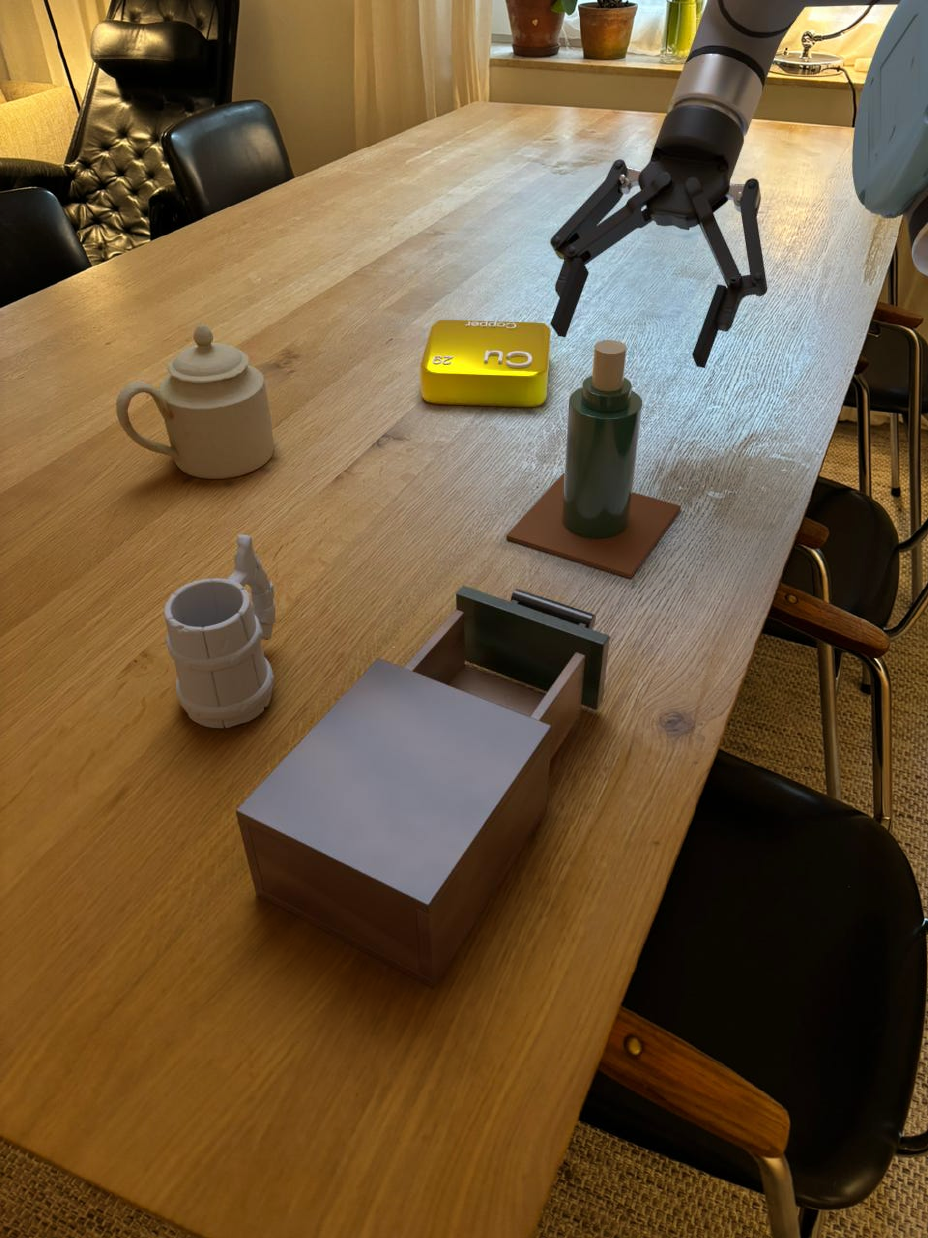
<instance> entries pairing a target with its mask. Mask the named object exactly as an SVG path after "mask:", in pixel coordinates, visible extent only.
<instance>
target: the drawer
mask: <svg viewBox="0 0 928 1238" xmlns="http://www.w3.org/2000/svg"><path fill="white" fill-rule="evenodd" d="M596 619H597V616H596V615H595V614H594V613H591V612H588V611H585V610H582V609H579V608H576V607H573V606H570V605H567V604H564V603H561V602H559V601H555V600H553V599H549V598H546V597H544V596H540V595H537V594H534V593H532V592H528V591H526V590H522V589H520V588H515V589H514V590H513V592H512V593H511V597H510V600H506V599H504V598H501V597H498V596H495V595H492V594H489V593H488V592H487V593H486V592H484V591H481V590H477V589H475V588H472V587H469V586H466V585H462V586H461V587H460V588H459V589H458V590H457V592H456V593H455V609H454V610H453V612H452V613H451V614H450V615H449V616H448V617H447V618H446V619H445V620H444V621H443V622H442V624H441V625H440V626H439V627H438V628H437V629H436V630H435V632H434V633H433V634H431V636H430V637H429V638H428V639H427V641H426V642H425V643H424V644H423V645H422V646H421V647H420V648H419V649H418V650H417V652H416V653H415V654H414V655H413V656H412V657H411V658H410V659H409V660H408V662H407V663H406V664H405V665H404V666H402V667H403V668H406V669H408V670H411V671H413V672H416V673H419V674H421V675H424V676H426V677H429V678H431V679H434V680H436V681H439V682H442V683H444V684H447V685H449V686H452V687H454V688H457V689H459V690H462V691H465V692H467V693H470V694H472V695H475V696H477V697H480V698H482V699H485V700H488V701H490V702H493V703H495V704H498V705H500V706H503V707H506V708H508V709H511V710H513V711H516V712H518V713H521V714H523V715H526V716H529V717H531V718H534V719H536V720H539V721H541V722H544V723H546V724H549V725H551V726H552V737H551V752H550V761H551V760H552V758H553V757H554V756H555V754H556V752H557V751H558V749H560V746H561V745H562V744H563V742H564V740H565V739H566V738H567V736H568V735H569V733H570V731H571V730H572V728H573V727H574V725H575V724H576V722H577V721H578V719H579V718H580V717H581V711H582V710H581V709H582V708H581V707H582V706H584V707H586V708H589V709H592V710H595V711H598V710H599V708H600V706H601V705H602V704H603V701H604V694H605V693H604V692H605V683H606V676H607V675H606V674H607V668H608V667H607V665H608V658H609V648H610V641H611V639H610V638H611V636H610V635H609V634H605V633H603V632H601V631H600V632H599V631H597V630H594V629H593V628H594V627H595V623H596ZM466 662H467V663H470V664H472V665H474V666H477V667H481V668H483V669H485V670H488V671H491V672H494V673H496V674H499V675H502V676H505V677H507V678H509V679H512V680H515V681H518V682H520V683H523V684H526V685H528V686H530V687H533V688H536V689H539V690H541V691H544V692H546V694H544V693H541V692H538V691H536V690H533V689H530V688H527V687H526V686H522V685H520V684H518V683H514V682H512V681H510V680H506V679H504V678H502V677H499V676H496V675H493V674H491V673H488V672H485V671H482V670H480V669H477V668H474V667H472V666H470V665H468V664H466Z"/></svg>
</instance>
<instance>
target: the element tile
mask: <svg viewBox="0 0 928 1238" xmlns="http://www.w3.org/2000/svg"><path fill="white" fill-rule="evenodd" d="M430 327H431V328H430V331H429V335H428V337H427V341H426V345H425V347H424V350H423V351H424V352H423V355H422V358H421V360H420V361H421V362H420V365H419V374H420V375H419V376H420V394H421V398H422V399H423V400H424V401H425V402H427V403H429V404H434V405H451V406H452V405H453V406H475V407H476V406H478V407H501V408H503V407H505V408H506V407H507V408H536V407H539V406H541V405H543V404H544V403H545V402H546V400H547V396H548V386H549V385H548V383H549V371H550V356H551V353H550V352H551V338H552V337H551V336H552V335H551V332H552V331H551V328H550V327H549V326H548V325H547V323H543V322H535V321H533V322H532V321H529V322H528V321H505V320H503V321H501V320H499V321H498V320H471V319H470V320H468V319H467V320H466V319H439V320H437V321H436V322H435V323H433V324H432V325H431V326H430Z"/></svg>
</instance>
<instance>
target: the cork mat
mask: <svg viewBox="0 0 928 1238" xmlns="http://www.w3.org/2000/svg"><path fill="white" fill-rule="evenodd" d="M564 475H565V472H563V473H562V474H561V475H560V476H559V477H558V478H557V479H556V481H554V483H553V484H552V485H551V486H550V487H549V488H548V489H547V490H546V491H545V493H543V495H542V496H541V497H540V498H539V499H538V500H537V501H536V502H535V504H533V505H532V507H530V509H529V510H528V511H527V512H526V513H525V514H524V516H522V518H520V520H519V521H518V522H517V523H516V524H515V525H514V527H513V528H511V530H510V531H509V532H508V533H507V534H506V538H505V539H506V540H507V541H510V542H514V543H517V544H520V545H523V546H526V547H529V548H533V549H536V550H539V551H542V552H545V553H548V554H552V555H555V556H557V557H561V558H564V559H567V560H571V561H573V562H577V563H580V564H583V565H586V566H590V567H593V568H596V569H599V570H602V571H605V572H609V573H612V574H614V575H618V576H621V577H624V578H627V579H632V578H633V576H634V575H635V573H636V572H637V570H638V569H639V568H640V566H641V565H642V564H643V562H644V561H645V559H646V558H647V556H648V555H649V554H650V553H651V552H652V549H653V548H654V547H655V546H656V544H657V542H658V541H659V540H660V538H661V537H662V535H663V534H664V533H665V531H666V530H667V528H668V527H669V526H670V524H671V523H672V521H673V520H674V519H675V517H676V516H677V514H678V513H679V512H680V510H681V505H679V504H676V503H673V502H669V501H665V500H662V499H659V498H654V497H651V496H647V495H644V494H640V493H637V492H633V491H632V499H631V508H630V516H629V524H628V526H627V528H626V529H625V530H624V531H623V532H622V533H620V534H619V535H616V536H614V537H610V538H604V539H592V538H586V537H582V536H579V535H576V534H574V533H572V532H571V531H569V530H568V529H567V528H566V527H565V526H564V524H563V522H562V507H563V491H564Z"/></svg>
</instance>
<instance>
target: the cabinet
mask: <svg viewBox="0 0 928 1238" xmlns="http://www.w3.org/2000/svg"><path fill="white" fill-rule="evenodd" d="M403 667H404V666H401V665H398V664H395V663H393V662H390V661H388V660H385V659H383V658H380V657H377V658H376V659H375V660H374V661H373V663H371V665H370V666H369V667H368V668H367V669H365V670H364V672H363V673H362V674H361V675H360V676H359V677H358V678H357V679H356V680H355V681H354V682H353V684H352V685H351V686H350V687H349V688H348V689H347V690H346V691H345V693H344V694H342V695H341V697H340V698H339V699H338V700H337V701H336V702H335V703H334V704H333V705H332V706H331V707H330V708H329V710H328V711H326V713H325V714H324V715H323V716H322V717H321V718H320V719H319V720H318V721H317V723H315V724H314V725H313V726H312V727H311V729H310V730H309V731H308V732H307V733H306V734H305V735H304V737H302V738H301V740H299V742H298V743H297V744H296V745H295V746H294V747H293V748H292V749H291V750H290V751H289V752H288V754H286V756H285V757H284V758H283V759H282V760H281V761H280V762H279V763H278V764H277V765H276V766H275V767H274V769H272V770H271V772H269V774H267V776H266V777H265V778H264V779H263V780H262V782H260V784H258V785H257V786H256V787H255V789H254V790H253V791H252V792H251V793H250V794H249V795H248V796H247V797H246V798H245V799H244V800H243V801H242V802H241V804H240V805H239V806H237V808H236V809H235V815H236V819H237V825H238V827H239V832H240V836H241V839H242V844H243V847H244V851H245V855H246V860H247V862H248V867H249V871H250V876H251V879H252V884H253V887H254V892H255V894H256V896H258V897H260V898H261V899H263V900H265V901H267V902H269V903H271V904H273V905H275V906H276V907H279V908H280V909H282V910H283V911H284V910H285V912H288V913H290V914H292V915H293V916H295V917H297V918H299V919H301V920H303V921H305V922H306V923H309V924H311V925H312V926H314V927H316V928H318V929H319V930H322V931H324V932H326V933H328V934H330V935H331V936H333V937H335V938H337V939H338V940H341V941H342V942H344V943H346V944H348V945H350V946H352V947H354V948H355V949H358V950H360V951H361V952H363V953H365V954H367V955H369V956H371V957H373V958H375V959H377V960H378V961H381V962H382V963H384V964H385V965H388V966H389V967H391V968H393V969H395V970H397V971H399V972H401V973H403V974H405V975H406V976H408V977H410V978H412V979H413V980H416V981H418V982H419V983H421V984H424V985H426V986H427V987H429V988H431V989H435V987H436V986H437V984H438V983H439V982H440V979H441V978H442V976H443V974H444V973H445V971H446V970H447V969H448V967H449V966H450V964H451V962H452V960H453V959H454V957H455V955H456V954H457V953H458V951H459V950H460V948H461V946H463V943H464V942H465V940H466V938H467V937H468V935H469V934H470V932H471V930H472V929H473V927H474V926H475V924H476V923H477V922H478V920H479V918H480V917H481V915H482V913H483V912H484V910H485V908H486V907H487V905H488V904H489V902H490V901H491V899H492V898H493V896H494V894H495V893H496V891H497V890H498V888H499V886H500V885H501V883H502V882H503V880H504V878H506V875H507V874H508V873H509V871H510V869H511V868H512V866H513V864H514V863H515V862H516V860H517V858H518V857H519V855H520V853H521V852H522V850H523V849H524V847H525V845H527V842H528V840H529V839H530V838H531V836H532V834H533V833H534V831H535V830H536V829H537V826H538V825H539V824H540V822H541V820H542V819H543V817H544V816H545V814H546V813H547V810H548V795H549V781H550V780H549V779H550V767H551V766H550V764H551V763H550V762H551V760H550V752H551V737H552V726H551V725H549V724H546V723H544V722H541V721H539V720H536V719H534V718H531V717H529V716H526V715H523V714H521V713H518V712H516V711H513V710H511V709H508V708H506V707H503V706H500V705H498V704H495V703H493V702H490V701H488V700H485V699H482V698H480V697H477V696H475V695H472V694H470V693H467V692H465V691H462V690H459V689H457V688H454V687H452V686H449V685H447V684H444V683H442V682H439V681H436V680H434V679H431V678H429V677H426V676H424V675H421V674H419V673H416V672H413V671H411V670H408V669H406V668H403Z"/></svg>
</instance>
